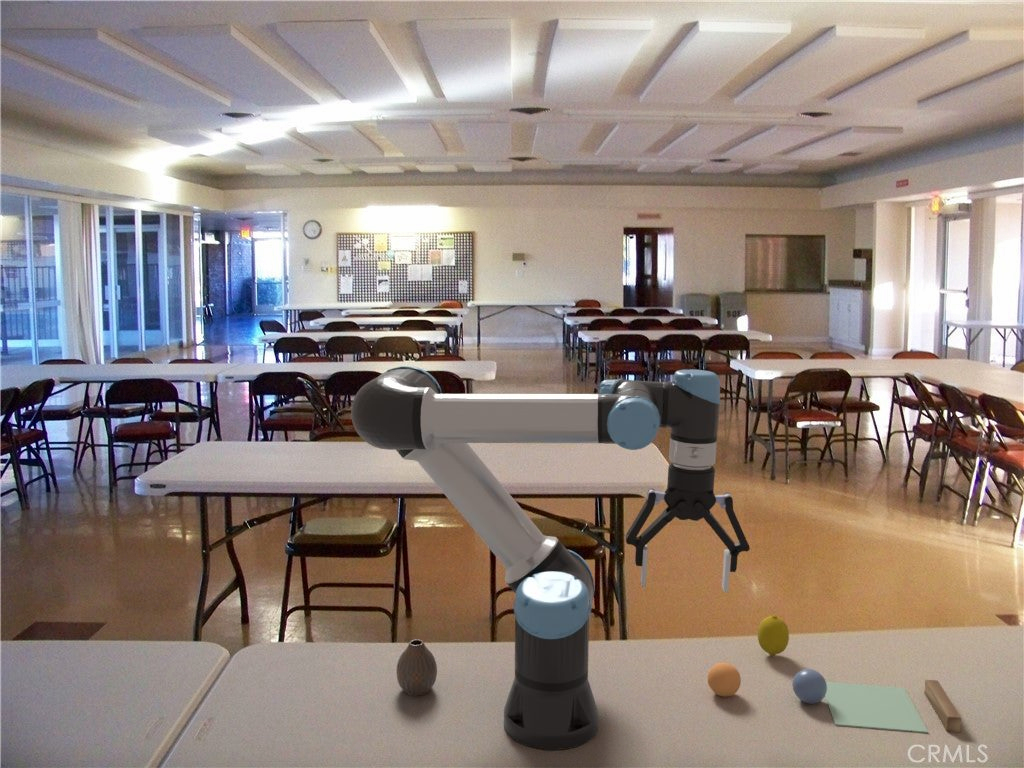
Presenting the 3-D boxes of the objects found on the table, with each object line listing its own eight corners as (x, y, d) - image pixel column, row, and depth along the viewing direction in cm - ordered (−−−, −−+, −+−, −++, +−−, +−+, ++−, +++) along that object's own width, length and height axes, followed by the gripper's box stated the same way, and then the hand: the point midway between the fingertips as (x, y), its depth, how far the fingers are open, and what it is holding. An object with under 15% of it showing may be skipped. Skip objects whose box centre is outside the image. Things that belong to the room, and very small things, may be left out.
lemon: (789, 664, 162) (791, 622, 161) (757, 661, 164) (759, 620, 162) (786, 650, 168) (788, 610, 166) (755, 647, 169) (757, 608, 168)
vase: (411, 704, 148) (410, 655, 147) (389, 688, 154) (388, 641, 152) (445, 691, 153) (444, 643, 151) (422, 676, 158) (421, 629, 156)
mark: (835, 725, 142) (835, 724, 142) (819, 682, 156) (819, 681, 156) (928, 732, 140) (928, 731, 140) (904, 688, 154) (904, 687, 154)
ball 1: (707, 701, 149) (709, 670, 149) (706, 685, 155) (707, 655, 154) (741, 704, 149) (742, 673, 148) (738, 687, 154) (739, 658, 153)
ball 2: (794, 708, 147) (796, 677, 146) (789, 691, 153) (791, 661, 152) (828, 711, 146) (830, 680, 145) (822, 694, 152) (824, 664, 151)
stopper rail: (946, 731, 140) (947, 716, 140) (924, 693, 152) (925, 679, 152) (959, 732, 140) (961, 717, 140) (936, 694, 152) (937, 680, 151)
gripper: (615, 466, 143) (609, 590, 147) (773, 474, 141) (763, 600, 145) (615, 454, 151) (609, 573, 154) (765, 462, 149) (755, 582, 152)
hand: (683, 586), depth 150 cm, fingers open, 13 cm apart
